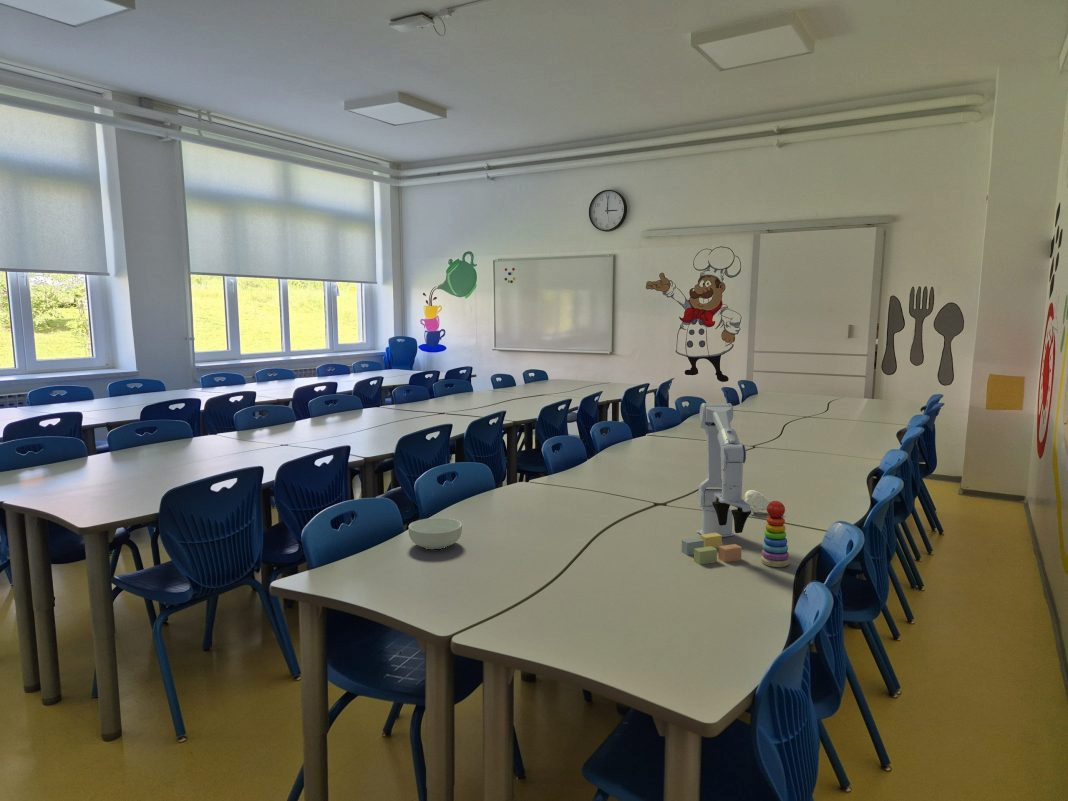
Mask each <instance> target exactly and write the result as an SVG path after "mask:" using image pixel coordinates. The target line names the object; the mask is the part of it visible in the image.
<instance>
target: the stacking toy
mask: <svg viewBox="0 0 1068 801" xmlns="http://www.w3.org/2000/svg"><path fill="white" fill-rule="evenodd" d="M766 512H767V514H768V516H767V517H766V523H767V524H765V530H764V537H763V543H762V548H763V549H762V550H761V556H760V561H761V563H763V565H766V566H768V567H772V568H784V567H786V566H789V564H790V559H789V557H790V554H789V551H788V550H789V545H787V544H788V539H787V538H786V536H787V533H786V530H787V529H786V526H785V523H786V520H785V518H784V517H783V516H784V514H786V513H785V512H786V507H785V505H784V504H783V503H782V502H781V501H779V500H771V502H770V503H769V504H768V505H767V510H766Z"/></svg>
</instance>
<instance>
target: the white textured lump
mask: <svg viewBox="0 0 1068 801" xmlns="http://www.w3.org/2000/svg"><path fill="white" fill-rule="evenodd" d="M744 501H745V502H746V503H747V504H749V505H750V510H751V514H750V515H751V516H754V515H755V513H754V512H759V511H767V505H768V504H769V503H770V502H772V500H771V501H770V500H769V499H768V498H767V497H766V496H765V495H764V494H762V493H760V491H757V490H754V489H749V490H747V491H746V492H745V494H744Z"/></svg>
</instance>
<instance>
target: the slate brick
mask: <svg viewBox="0 0 1068 801" xmlns="http://www.w3.org/2000/svg"><path fill="white" fill-rule="evenodd" d="M702 547H704V540H702V539H700V537H693V538H687V539H682V540H681V553H682V554H684V555H685V556H691V555H694V549H695V548H702Z"/></svg>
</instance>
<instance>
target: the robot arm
mask: <svg viewBox="0 0 1068 801" xmlns="http://www.w3.org/2000/svg"><path fill="white" fill-rule="evenodd" d="M733 418H734V407H733V404H731V402H729V403H706V402H702V403H701V404H700V407H699V425H700V428H701V429H704V430H705V434H706V435H705V436H706V479H704V480H703V481H702V482H700V483H699V484H698V491H697V504H698V506H699V507H700V508H702V510H701V511H702V513H701V514H702V518H701V523H702V524H701V529H697V530H696V533H698V534H700V535H703V534H710V533H718V534H720V535H722V538H725V537H733V536H734V533H735V534H742V533H743V531H744V527H745V524H746V522H747V520H748V518H749V516H750V515H751V510H750V505H749V504H747V503H746V502H745V499H743V498H742V497H743V495H742V494H743V473H744V471H743V470H744V464H745V463H746V461H747V449H746V445H745V443H743V442H741V441H740V440H739V437H738V434H737V432H736V430H735V429H733V428H732V426H731V423H732V421H733ZM731 506H732V507H735V508H737V509H730V507H731ZM733 528H734V533H733Z"/></svg>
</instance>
